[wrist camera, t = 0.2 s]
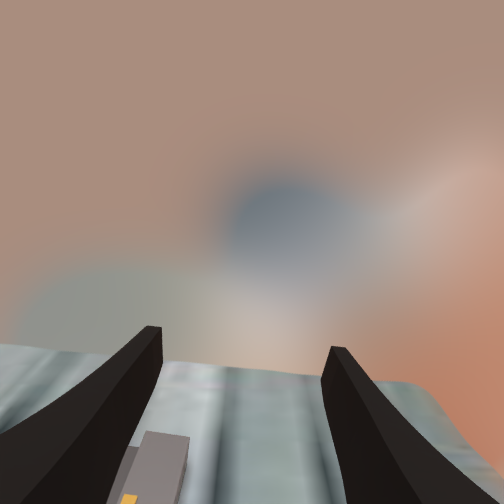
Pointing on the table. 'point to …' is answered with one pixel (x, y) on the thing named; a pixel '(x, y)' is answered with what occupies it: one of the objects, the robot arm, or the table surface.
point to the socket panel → (151, 471)
